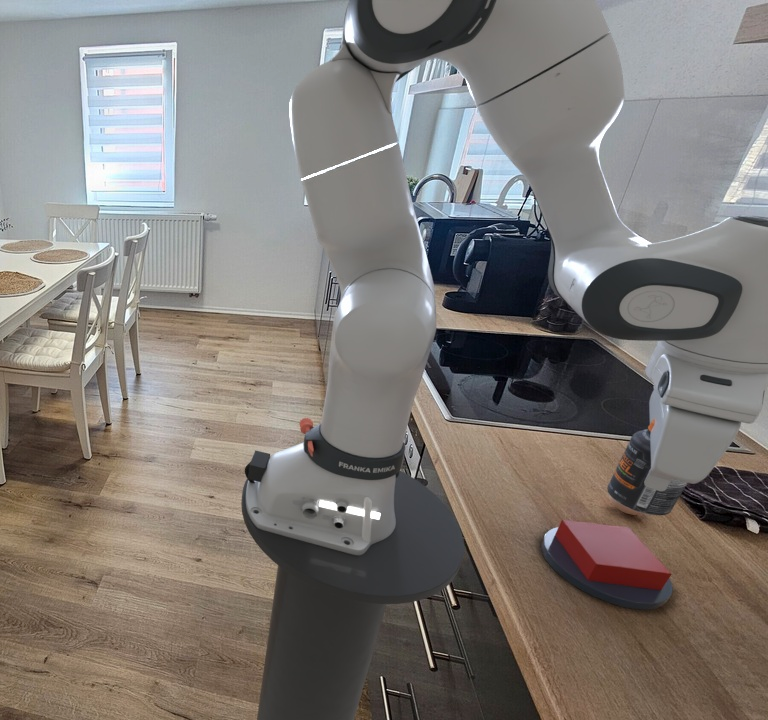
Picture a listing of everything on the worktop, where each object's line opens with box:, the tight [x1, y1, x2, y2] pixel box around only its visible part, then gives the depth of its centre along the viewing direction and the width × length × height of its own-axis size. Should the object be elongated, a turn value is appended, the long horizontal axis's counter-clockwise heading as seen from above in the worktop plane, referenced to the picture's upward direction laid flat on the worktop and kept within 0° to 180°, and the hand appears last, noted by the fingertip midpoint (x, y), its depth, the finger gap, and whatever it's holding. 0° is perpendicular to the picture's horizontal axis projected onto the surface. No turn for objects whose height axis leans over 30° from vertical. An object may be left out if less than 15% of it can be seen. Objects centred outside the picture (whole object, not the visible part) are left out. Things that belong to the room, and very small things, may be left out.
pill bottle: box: [606, 418, 688, 516], centre depth 60 cm, size 6×6×11 cm
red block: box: [555, 519, 672, 590], centre depth 66 cm, size 8×8×3 cm
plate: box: [540, 526, 674, 611], centre depth 67 cm, size 13×13×1 cm
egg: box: [608, 493, 645, 516], centre depth 75 cm, size 5×5×6 cm
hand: (652, 471), depth 60 cm, fingers closed on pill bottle, 6 cm apart
